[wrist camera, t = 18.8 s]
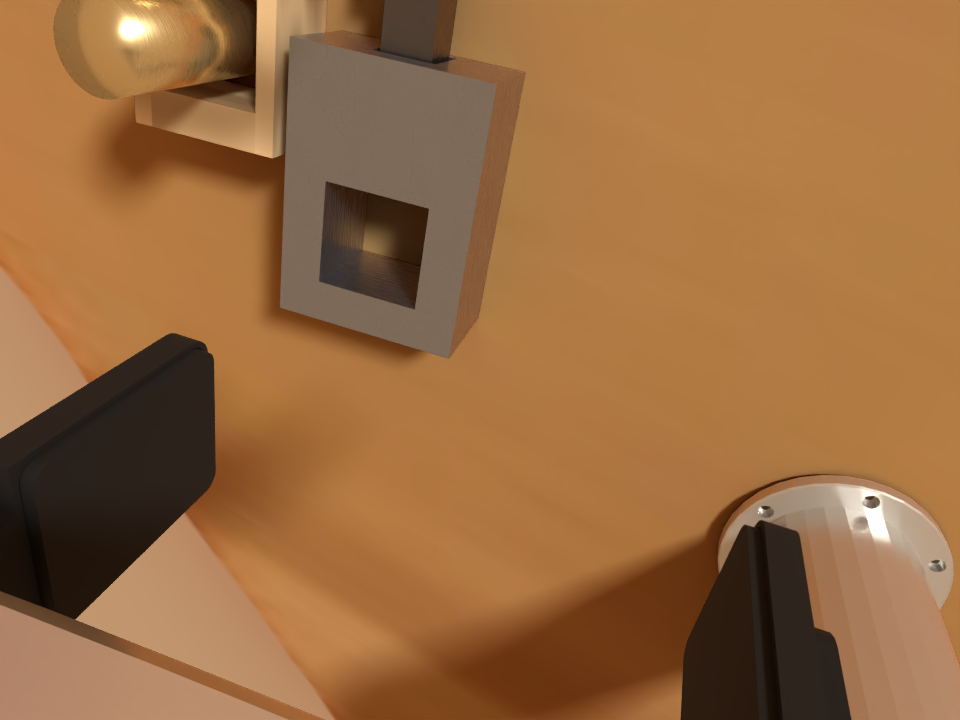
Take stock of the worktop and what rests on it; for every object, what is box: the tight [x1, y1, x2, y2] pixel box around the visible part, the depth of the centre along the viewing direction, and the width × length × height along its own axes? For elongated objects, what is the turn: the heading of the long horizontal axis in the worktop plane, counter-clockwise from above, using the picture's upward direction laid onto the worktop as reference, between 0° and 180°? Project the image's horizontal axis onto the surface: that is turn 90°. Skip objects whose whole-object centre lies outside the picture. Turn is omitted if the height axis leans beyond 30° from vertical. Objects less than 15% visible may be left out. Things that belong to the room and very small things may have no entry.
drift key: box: [380, 0, 457, 64], centre depth 35 cm, size 10×4×4 cm, turn 170°
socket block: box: [280, 31, 525, 359], centre depth 38 cm, size 14×10×6 cm
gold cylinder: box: [53, 0, 257, 99], centre depth 34 cm, size 4×4×12 cm
